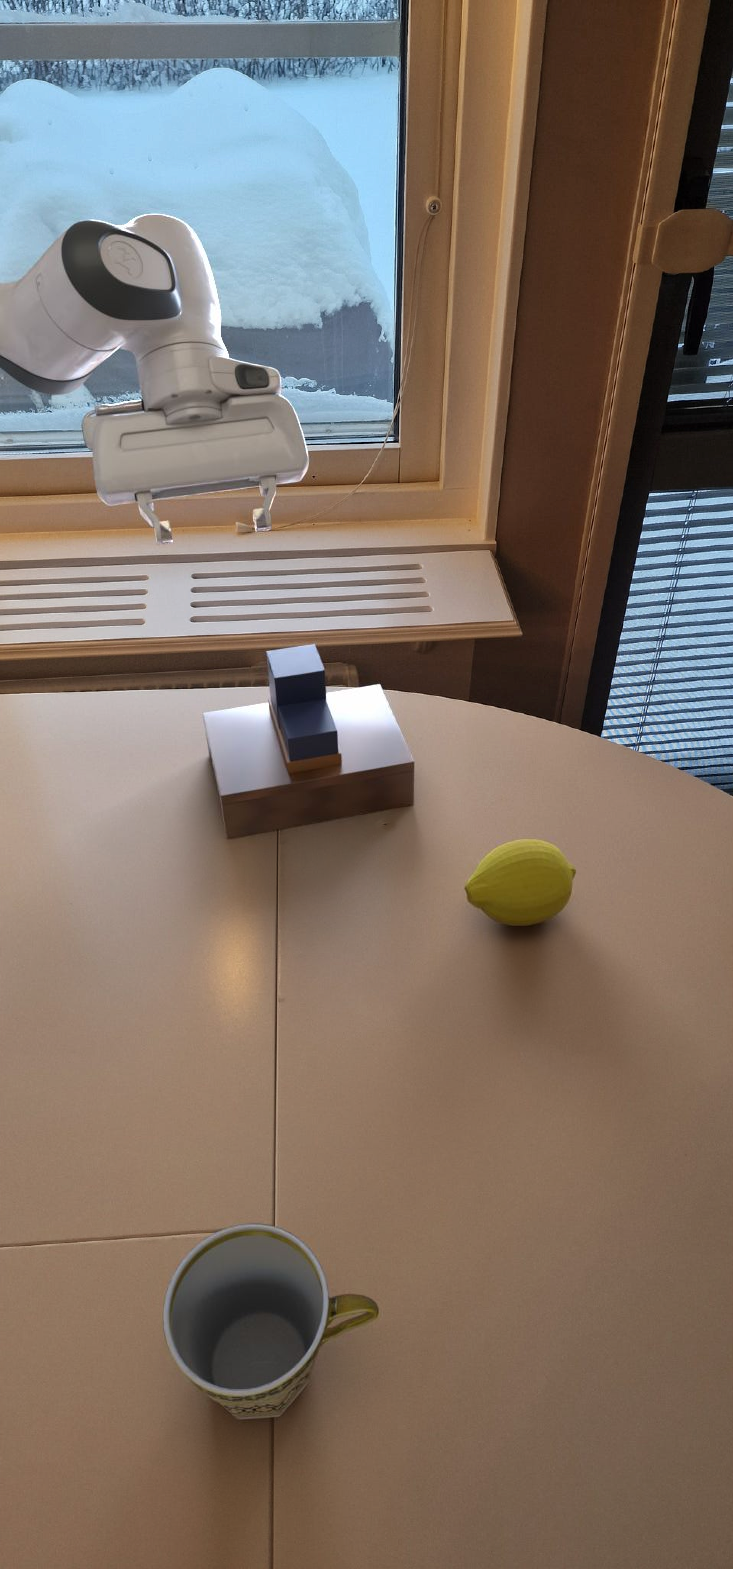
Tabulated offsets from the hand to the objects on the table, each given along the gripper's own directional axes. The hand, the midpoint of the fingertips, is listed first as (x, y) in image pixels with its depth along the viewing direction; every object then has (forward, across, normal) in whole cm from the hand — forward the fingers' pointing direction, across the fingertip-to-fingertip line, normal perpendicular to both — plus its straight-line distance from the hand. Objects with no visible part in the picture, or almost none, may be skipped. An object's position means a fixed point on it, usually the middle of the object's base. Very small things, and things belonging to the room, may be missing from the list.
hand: (214, 535), depth 98 cm
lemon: (+40, +22, -1) cm, 46 cm away
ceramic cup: (+64, -7, -25) cm, 69 cm away
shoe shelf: (+23, +6, +15) cm, 29 cm away
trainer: (+19, +6, +11) cm, 23 cm away
